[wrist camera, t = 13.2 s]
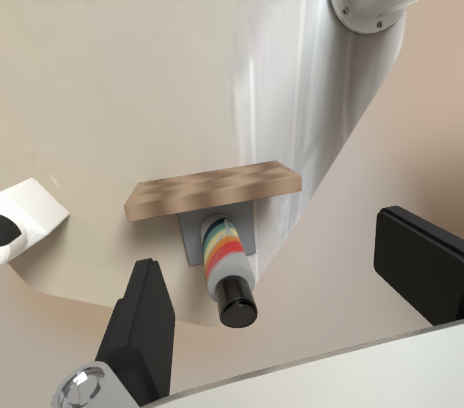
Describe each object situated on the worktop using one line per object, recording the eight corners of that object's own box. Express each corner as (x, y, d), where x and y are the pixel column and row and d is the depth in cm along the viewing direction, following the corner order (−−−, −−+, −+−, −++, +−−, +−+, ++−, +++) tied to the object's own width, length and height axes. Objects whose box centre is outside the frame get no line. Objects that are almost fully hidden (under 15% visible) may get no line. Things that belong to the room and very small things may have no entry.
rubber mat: (248, 188, 43) (249, 190, 42) (254, 250, 47) (256, 252, 47) (175, 201, 42) (175, 203, 41) (189, 263, 46) (189, 266, 45)
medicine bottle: (-6, 203, 37) (-87, 244, 26) (33, 176, 37) (-32, 206, 26) (34, 238, 40) (-24, 289, 29) (71, 213, 40) (26, 255, 29)
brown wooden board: (276, 160, 42) (301, 176, 33) (276, 172, 43) (301, 190, 34) (138, 183, 40) (123, 206, 30) (141, 195, 40) (128, 221, 31)
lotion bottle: (239, 219, 44) (277, 301, 25) (225, 247, 45) (253, 344, 27) (207, 208, 42) (224, 288, 24) (195, 237, 44) (201, 334, 25)
